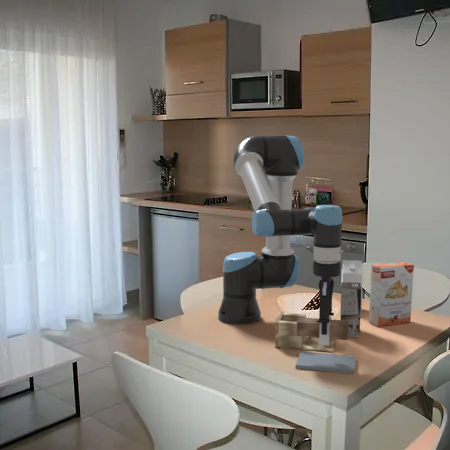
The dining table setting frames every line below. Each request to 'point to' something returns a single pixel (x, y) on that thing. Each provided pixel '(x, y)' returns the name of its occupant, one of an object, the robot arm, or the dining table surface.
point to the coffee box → (351, 306)
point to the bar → (311, 327)
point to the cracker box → (391, 293)
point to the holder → (289, 338)
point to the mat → (326, 362)
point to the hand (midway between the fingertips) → (325, 341)
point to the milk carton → (352, 273)
